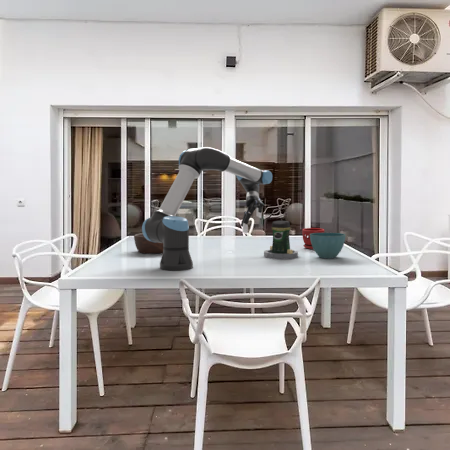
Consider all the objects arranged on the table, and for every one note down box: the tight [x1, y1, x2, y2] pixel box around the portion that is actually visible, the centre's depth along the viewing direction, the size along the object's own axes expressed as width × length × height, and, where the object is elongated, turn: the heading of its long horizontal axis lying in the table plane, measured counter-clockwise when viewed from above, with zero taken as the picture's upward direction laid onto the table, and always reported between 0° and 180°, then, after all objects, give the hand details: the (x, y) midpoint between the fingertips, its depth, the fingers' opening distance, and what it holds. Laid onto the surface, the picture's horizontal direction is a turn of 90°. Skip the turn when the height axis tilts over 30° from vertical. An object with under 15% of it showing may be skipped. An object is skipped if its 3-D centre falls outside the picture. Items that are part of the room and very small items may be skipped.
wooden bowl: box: [133, 232, 163, 255], centre depth 236 cm, size 25×25×10 cm
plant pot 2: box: [310, 232, 347, 259], centre depth 211 cm, size 18×18×12 cm
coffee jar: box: [271, 220, 291, 254], centre depth 215 cm, size 10×8×19 cm
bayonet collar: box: [263, 245, 299, 260], centre depth 215 cm, size 18×18×4 cm
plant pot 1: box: [301, 227, 325, 250], centre depth 244 cm, size 13×13×12 cm
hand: (251, 224), depth 218 cm, fingers open, 13 cm apart
